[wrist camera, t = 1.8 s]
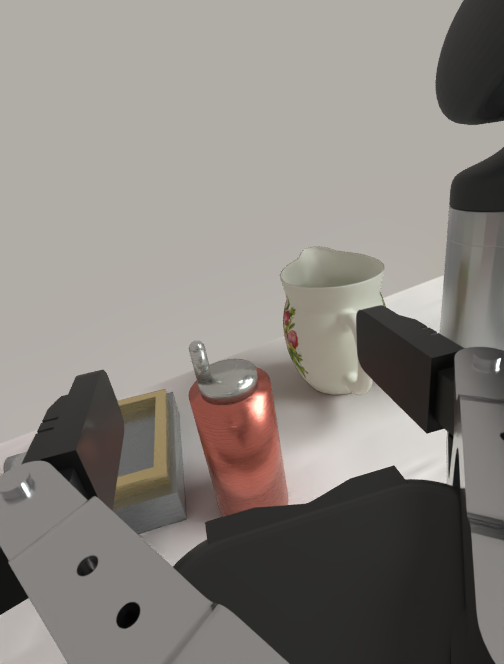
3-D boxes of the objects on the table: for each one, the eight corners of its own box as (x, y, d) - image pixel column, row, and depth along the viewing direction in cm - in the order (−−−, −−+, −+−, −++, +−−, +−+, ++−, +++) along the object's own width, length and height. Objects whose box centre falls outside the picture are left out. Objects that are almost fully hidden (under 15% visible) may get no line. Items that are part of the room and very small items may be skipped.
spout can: (277, 464, 33) (251, 311, 26) (297, 518, 28) (272, 344, 21) (215, 482, 32) (173, 329, 26) (225, 540, 27) (176, 368, 20)
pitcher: (311, 446, 34) (296, 309, 28) (280, 353, 50) (266, 254, 44) (427, 424, 34) (436, 285, 28) (359, 339, 50) (356, 239, 44)
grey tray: (179, 413, 42) (169, 382, 40) (186, 519, 29) (173, 481, 27) (30, 452, 39) (13, 421, 38) (-31, 584, 27) (-60, 547, 25)
